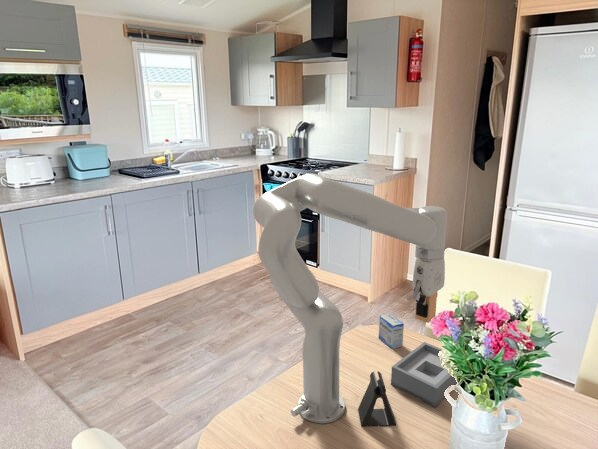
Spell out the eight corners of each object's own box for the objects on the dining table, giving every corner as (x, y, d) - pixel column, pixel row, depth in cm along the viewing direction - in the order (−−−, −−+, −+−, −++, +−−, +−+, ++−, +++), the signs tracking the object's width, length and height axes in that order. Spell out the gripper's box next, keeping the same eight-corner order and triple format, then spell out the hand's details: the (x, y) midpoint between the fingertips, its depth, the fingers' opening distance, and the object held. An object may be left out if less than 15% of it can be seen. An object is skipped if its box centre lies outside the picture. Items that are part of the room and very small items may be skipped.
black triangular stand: (391, 409, 115) (393, 370, 112) (396, 426, 109) (398, 385, 106) (357, 410, 115) (358, 371, 112) (360, 426, 110) (361, 386, 106)
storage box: (435, 407, 116) (436, 388, 114) (390, 384, 125) (391, 366, 123) (465, 377, 128) (467, 359, 126) (423, 358, 137) (424, 341, 136)
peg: (428, 323, 120) (430, 290, 117) (415, 318, 123) (417, 285, 120) (435, 317, 123) (437, 285, 120) (422, 313, 125) (424, 281, 123)
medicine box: (378, 338, 149) (378, 315, 147) (388, 335, 151) (389, 312, 149) (392, 349, 143) (393, 326, 140) (403, 346, 144) (404, 323, 142)
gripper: (427, 264, 109) (422, 328, 114) (457, 247, 120) (452, 306, 125) (400, 257, 114) (398, 319, 119) (432, 241, 125) (428, 299, 130)
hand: (425, 312), depth 122 cm, fingers closed on peg, 4 cm apart
